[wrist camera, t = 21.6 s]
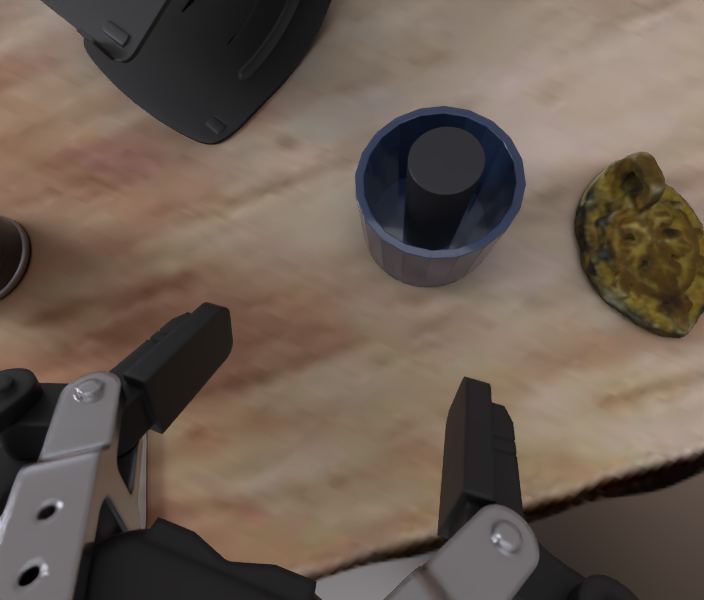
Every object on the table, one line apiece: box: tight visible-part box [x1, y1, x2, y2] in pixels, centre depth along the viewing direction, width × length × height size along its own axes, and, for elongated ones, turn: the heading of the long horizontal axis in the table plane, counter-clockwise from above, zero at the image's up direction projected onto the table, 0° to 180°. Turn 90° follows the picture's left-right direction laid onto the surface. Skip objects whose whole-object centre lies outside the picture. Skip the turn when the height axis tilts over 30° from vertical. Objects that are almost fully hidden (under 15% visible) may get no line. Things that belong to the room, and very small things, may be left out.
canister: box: [403, 127, 485, 250], centre depth 26 cm, size 5×5×10 cm
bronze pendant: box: [575, 152, 704, 338], centre depth 27 cm, size 9×5×15 cm
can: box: [355, 106, 526, 287], centre depth 28 cm, size 11×11×8 cm
